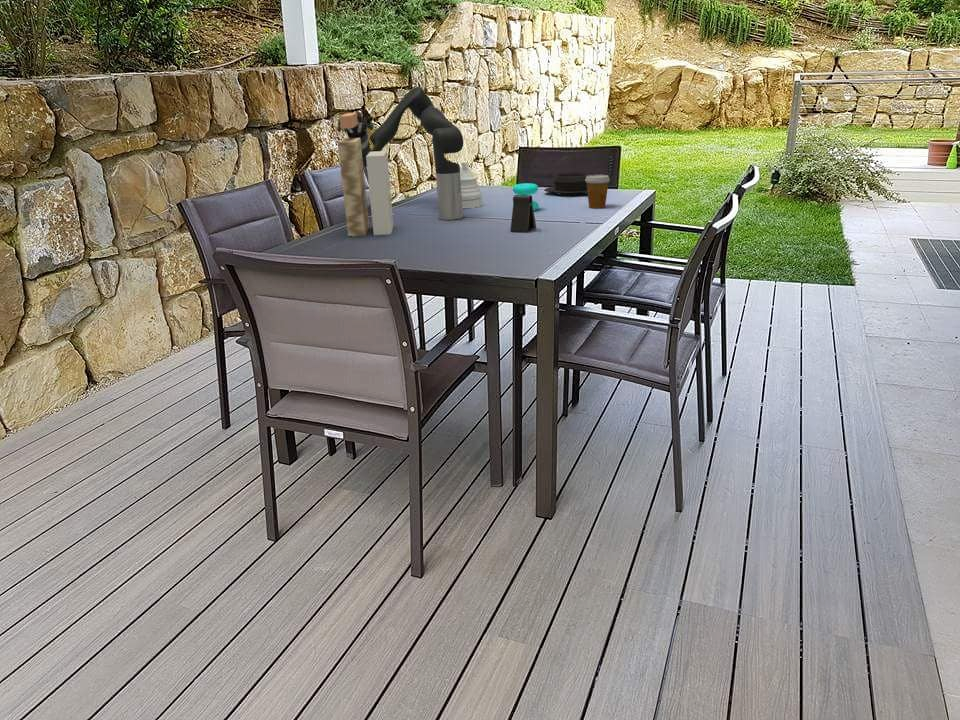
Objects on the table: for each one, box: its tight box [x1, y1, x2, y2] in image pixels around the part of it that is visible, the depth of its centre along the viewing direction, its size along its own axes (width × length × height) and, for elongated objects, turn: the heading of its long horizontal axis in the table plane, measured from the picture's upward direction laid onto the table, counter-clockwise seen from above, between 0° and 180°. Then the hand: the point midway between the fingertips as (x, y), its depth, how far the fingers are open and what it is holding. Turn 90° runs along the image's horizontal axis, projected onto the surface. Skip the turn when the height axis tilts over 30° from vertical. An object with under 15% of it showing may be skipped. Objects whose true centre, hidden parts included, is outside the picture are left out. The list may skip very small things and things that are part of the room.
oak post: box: [337, 137, 370, 237], centre depth 264 cm, size 6×16×32 cm, turn 3°
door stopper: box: [510, 194, 537, 234], centre depth 257 cm, size 9×6×12 cm, turn 153°
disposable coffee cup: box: [585, 174, 611, 210], centre depth 292 cm, size 10×10×12 cm
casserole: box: [543, 171, 590, 197], centre depth 326 cm, size 25×19×8 cm
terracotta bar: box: [338, 112, 359, 129], centre depth 266 cm, size 4×24×4 cm, turn 3°
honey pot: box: [460, 161, 483, 210], centre depth 307 cm, size 13×13×18 cm
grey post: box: [366, 150, 394, 236], centre depth 265 cm, size 6×16×27 cm, turn 3°
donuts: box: [512, 182, 539, 212], centre depth 293 cm, size 10×10×10 cm
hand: (351, 115), depth 272 cm, fingers closed on terracotta bar, 4 cm apart
